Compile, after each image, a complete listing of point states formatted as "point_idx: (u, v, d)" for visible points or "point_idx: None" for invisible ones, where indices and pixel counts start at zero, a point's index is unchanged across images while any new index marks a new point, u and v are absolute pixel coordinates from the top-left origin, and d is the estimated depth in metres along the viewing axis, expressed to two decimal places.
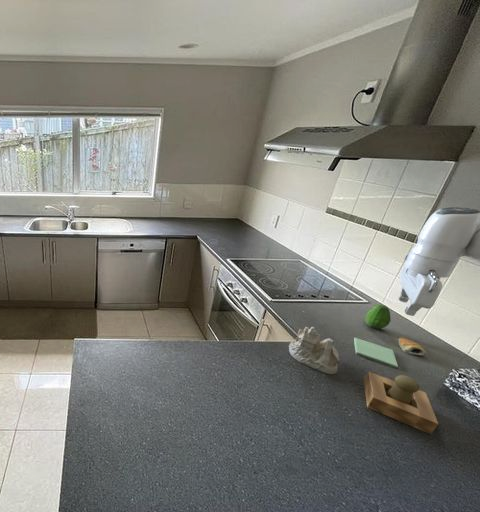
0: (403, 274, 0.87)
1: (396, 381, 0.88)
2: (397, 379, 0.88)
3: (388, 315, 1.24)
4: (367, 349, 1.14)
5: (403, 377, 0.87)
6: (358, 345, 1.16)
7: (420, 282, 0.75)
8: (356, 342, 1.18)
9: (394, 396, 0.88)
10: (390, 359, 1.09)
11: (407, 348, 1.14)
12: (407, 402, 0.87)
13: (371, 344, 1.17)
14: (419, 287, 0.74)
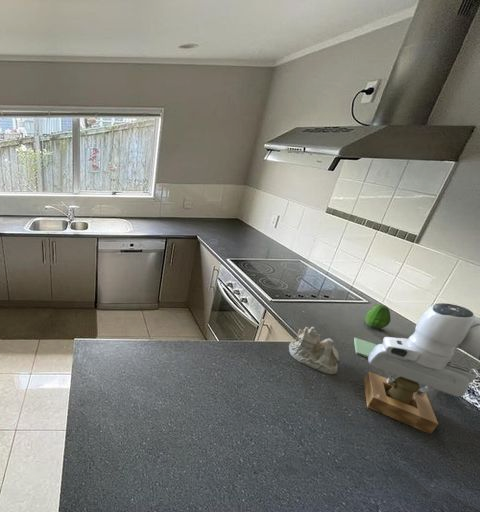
0: (381, 361, 0.88)
1: (396, 381, 0.88)
2: (397, 379, 0.88)
3: (388, 315, 1.24)
4: (367, 349, 1.14)
5: None
6: (358, 345, 1.16)
7: (460, 378, 0.78)
8: (356, 342, 1.18)
9: (394, 396, 0.88)
10: None
11: None
12: (407, 402, 0.87)
13: (371, 344, 1.17)
14: (463, 383, 0.78)
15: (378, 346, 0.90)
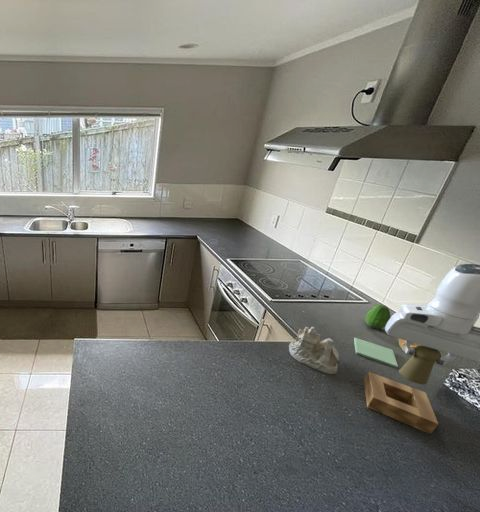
0: (400, 330, 0.83)
1: (416, 350, 0.83)
2: (417, 348, 0.83)
3: (388, 315, 1.24)
4: (367, 349, 1.14)
5: (423, 346, 0.82)
6: (358, 345, 1.16)
7: None
8: (356, 342, 1.18)
9: (414, 366, 0.83)
10: (390, 359, 1.09)
11: None
12: (428, 372, 0.82)
13: (371, 344, 1.17)
14: None
15: (396, 314, 0.85)
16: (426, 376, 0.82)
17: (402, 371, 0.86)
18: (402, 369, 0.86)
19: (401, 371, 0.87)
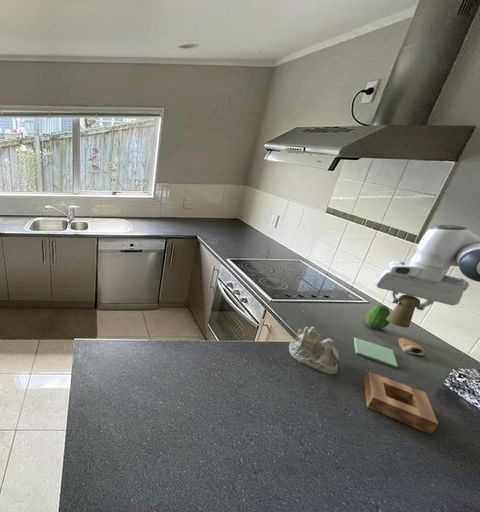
0: (387, 282, 1.00)
1: (400, 299, 1.00)
2: (401, 297, 1.00)
3: (388, 315, 1.24)
4: (367, 349, 1.14)
5: (406, 295, 1.00)
6: (358, 345, 1.16)
7: (455, 288, 0.91)
8: (356, 342, 1.18)
9: (398, 313, 1.01)
10: (390, 359, 1.09)
11: (407, 348, 1.14)
12: (409, 317, 0.99)
13: (371, 344, 1.17)
14: (458, 292, 0.91)
15: (384, 270, 1.02)
16: (408, 320, 0.99)
17: (389, 318, 1.03)
18: (389, 316, 1.04)
19: (388, 318, 1.04)
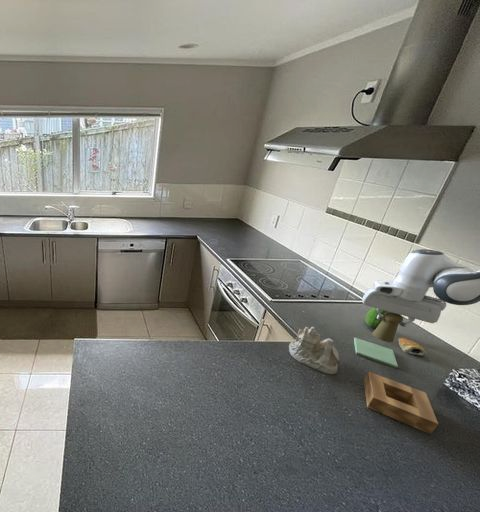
0: (372, 300, 1.08)
1: (384, 316, 1.08)
2: (385, 314, 1.08)
3: None
4: (367, 349, 1.14)
5: (390, 312, 1.07)
6: (358, 345, 1.16)
7: (434, 307, 0.98)
8: (356, 342, 1.18)
9: (383, 328, 1.08)
10: (390, 359, 1.09)
11: (407, 348, 1.14)
12: (393, 332, 1.07)
13: (371, 344, 1.17)
14: (436, 311, 0.98)
15: (370, 288, 1.10)
16: (392, 335, 1.07)
17: (374, 333, 1.11)
18: (374, 331, 1.11)
19: (374, 333, 1.12)
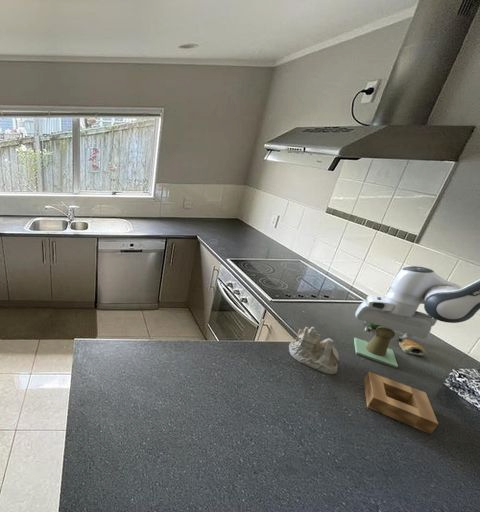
0: (365, 314, 1.11)
1: (377, 330, 1.11)
2: (378, 329, 1.10)
3: None
4: None
5: (382, 327, 1.10)
6: (358, 345, 1.16)
7: (425, 323, 1.01)
8: (356, 342, 1.18)
9: (375, 343, 1.11)
10: (390, 359, 1.09)
11: (407, 348, 1.14)
12: (385, 347, 1.10)
13: None
14: (427, 327, 1.01)
15: (363, 303, 1.12)
16: (384, 349, 1.10)
17: (367, 347, 1.14)
18: (367, 345, 1.14)
19: (367, 347, 1.14)
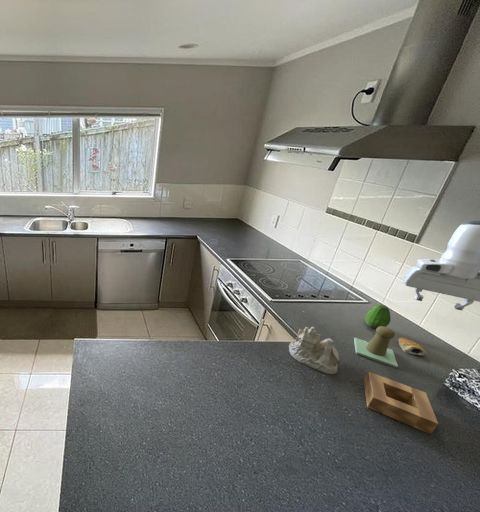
0: (416, 280, 0.98)
1: (377, 330, 1.11)
2: (378, 329, 1.10)
3: (388, 315, 1.24)
4: None
5: (382, 327, 1.10)
6: (358, 345, 1.16)
7: None
8: (356, 342, 1.18)
9: (375, 343, 1.11)
10: (390, 359, 1.09)
11: (407, 348, 1.14)
12: (385, 347, 1.10)
13: None
14: None
15: (412, 268, 0.99)
16: (384, 349, 1.10)
17: (367, 347, 1.14)
18: (367, 345, 1.14)
19: (367, 347, 1.14)
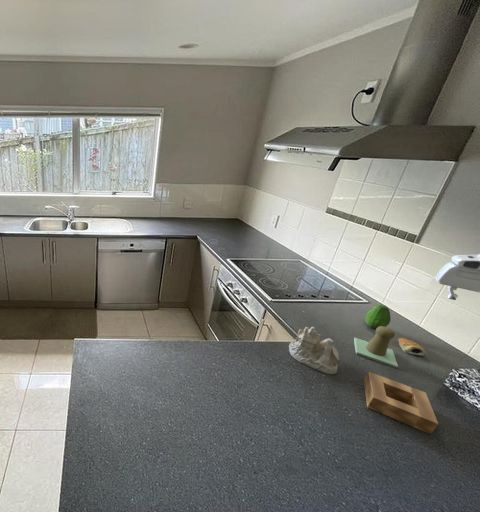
0: (451, 277, 0.91)
1: (377, 330, 1.11)
2: (378, 329, 1.10)
3: (388, 315, 1.24)
4: None
5: (382, 327, 1.10)
6: (358, 345, 1.16)
7: None
8: (356, 342, 1.18)
9: (375, 343, 1.11)
10: (390, 359, 1.09)
11: (407, 348, 1.14)
12: (385, 347, 1.10)
13: None
14: None
15: (447, 264, 0.93)
16: (384, 349, 1.10)
17: (367, 347, 1.14)
18: (367, 345, 1.14)
19: (367, 347, 1.14)
